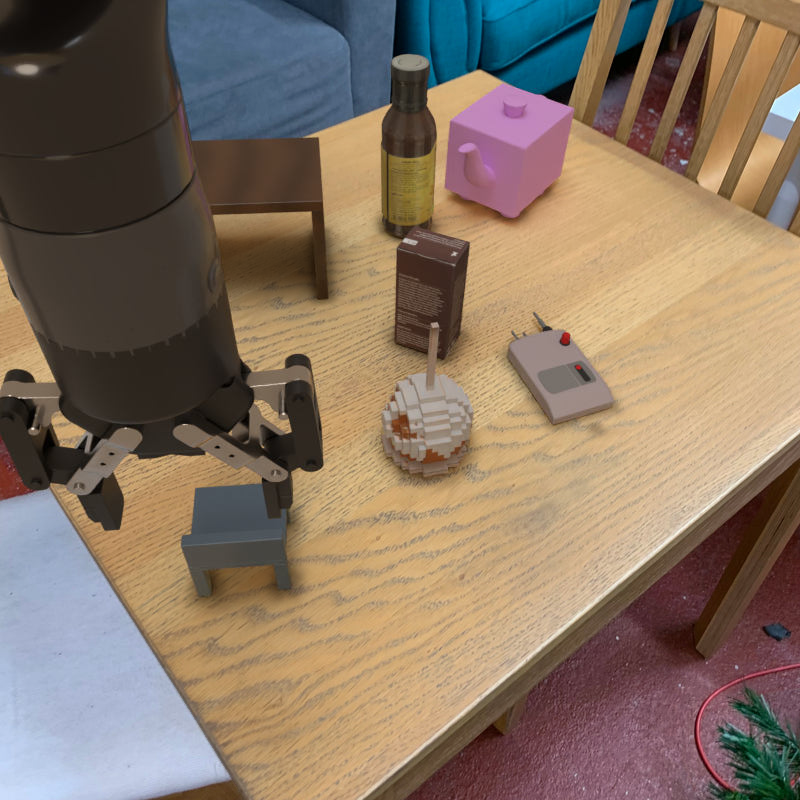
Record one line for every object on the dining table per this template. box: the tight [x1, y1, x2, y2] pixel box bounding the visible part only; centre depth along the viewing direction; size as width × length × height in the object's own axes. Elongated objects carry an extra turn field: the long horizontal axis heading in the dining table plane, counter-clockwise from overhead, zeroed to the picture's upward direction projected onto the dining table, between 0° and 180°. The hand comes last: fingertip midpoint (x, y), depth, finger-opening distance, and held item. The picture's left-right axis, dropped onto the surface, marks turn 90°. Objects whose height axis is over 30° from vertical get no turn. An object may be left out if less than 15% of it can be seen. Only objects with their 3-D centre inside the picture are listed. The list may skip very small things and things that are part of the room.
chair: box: [180, 482, 292, 598], centre depth 60 cm, size 7×7×8 cm
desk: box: [192, 136, 329, 300], centre depth 82 cm, size 16×12×12 cm
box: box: [393, 226, 471, 360], centre depth 75 cm, size 6×4×12 cm
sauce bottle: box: [380, 53, 438, 239], centre depth 86 cm, size 6×6×20 cm
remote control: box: [506, 311, 615, 440], centre depth 76 cm, size 7×16×3 cm, turn 22°
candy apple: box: [380, 322, 475, 478], centre depth 65 cm, size 8×8×15 cm
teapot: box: [443, 82, 576, 219], centre depth 93 cm, size 20×10×12 cm, turn 144°
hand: (195, 510), depth 42 cm, fingers open, 8 cm apart
